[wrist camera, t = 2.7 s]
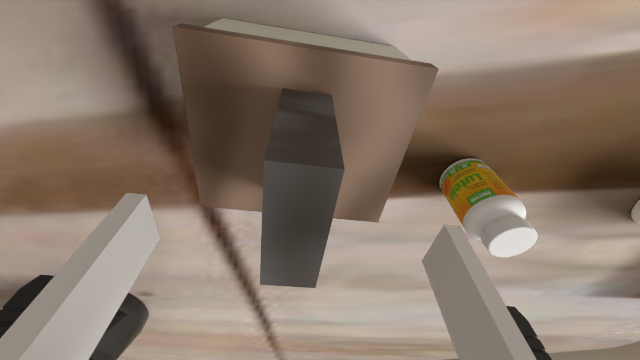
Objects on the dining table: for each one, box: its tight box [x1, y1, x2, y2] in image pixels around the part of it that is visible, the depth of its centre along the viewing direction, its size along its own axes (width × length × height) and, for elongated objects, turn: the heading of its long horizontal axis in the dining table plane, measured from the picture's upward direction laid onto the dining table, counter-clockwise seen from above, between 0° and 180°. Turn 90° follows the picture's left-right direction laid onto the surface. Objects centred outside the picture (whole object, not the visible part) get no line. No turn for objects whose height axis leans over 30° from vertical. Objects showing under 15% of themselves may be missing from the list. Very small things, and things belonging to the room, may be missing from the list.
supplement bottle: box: [440, 158, 537, 257], centre depth 27 cm, size 5×5×10 cm
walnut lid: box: [173, 24, 438, 288], centre depth 16 cm, size 15×13×10 cm
